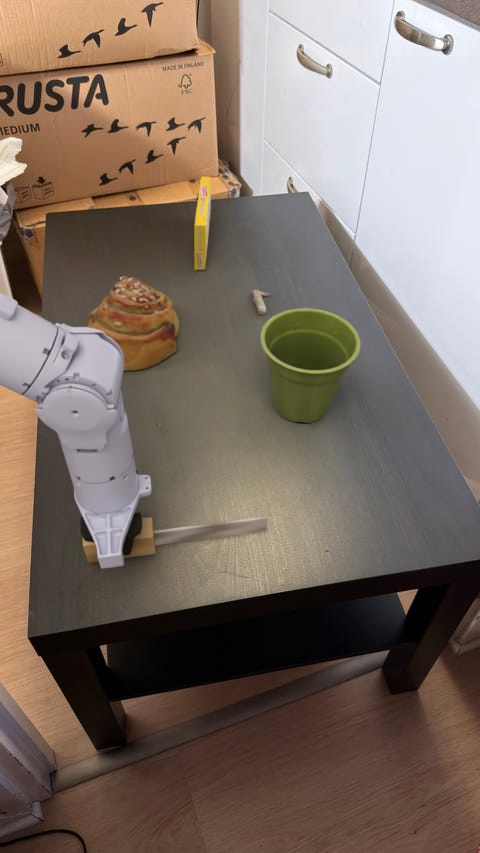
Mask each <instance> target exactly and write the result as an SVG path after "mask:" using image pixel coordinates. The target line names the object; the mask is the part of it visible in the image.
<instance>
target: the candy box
mask: <svg viewBox="0 0 480 853" xmlns="http://www.w3.org/2000/svg"><path fill="white" fill-rule="evenodd" d="M198 188H199V189H198V195H197V203H196V211H195V218H194V225H193V226H194V227H193V228H194V231H193V232H194V236H193V237H194V238H193V239H194V242H193V244H194V250H193V252H194V256H193V257H194V263H193V264H194V268H193V269H194V271H206V262H207V254H208V244H209V235H210V224H211V216H212V215H211V214H212V178H211V176H200V182H199V187H198Z"/></svg>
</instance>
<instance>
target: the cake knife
mask: <svg viewBox="0 0 480 853" xmlns="http://www.w3.org/2000/svg"><path fill="white" fill-rule="evenodd" d="M152 518H153V517H151V516H150V517H142V530H141V533H140V534H139V535H137V536H136V537H135V538H134V540H133V547H132V551H131V554H130V555H125V556H123V557H124V559H127V558H134V557H141V556H142V557H143V556H149V555H150V556H151V555H156V554H157V551H156V550H157V549H156V546H160V545H168V544H169V545H170V544H175V543H181V542H191V541H199V540H206V539H214V538H220V537H227V536H236V535H243V534H250V533H251V534H252V533H259V532H266V531H267V526H268V516H267V515H266V516H257V517H256V516H255V517H249V518H241V519H233V520H227V521H220V522H219V521H218V522H210V523H204V524H202V523H201V524H196V525H187V526H181V527H172V528H165V529H158V530H157V529H156V530H154V525H153V519H152ZM82 548H83V552H84V554H85V558H86V561H87V563H88V564H89V563H97V562H98V563H99V560H98V557H97V547H96V545H95V543H93V542H88V541H85V540H84V538H83V537H82Z"/></svg>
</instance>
